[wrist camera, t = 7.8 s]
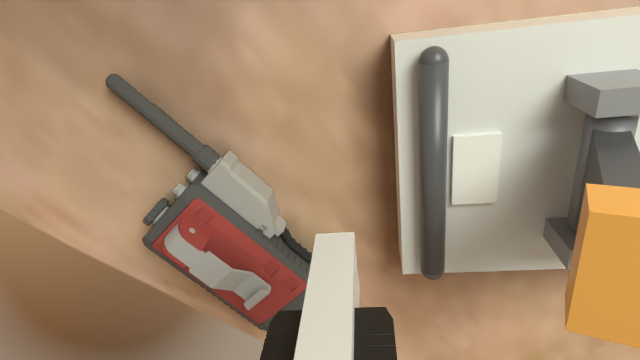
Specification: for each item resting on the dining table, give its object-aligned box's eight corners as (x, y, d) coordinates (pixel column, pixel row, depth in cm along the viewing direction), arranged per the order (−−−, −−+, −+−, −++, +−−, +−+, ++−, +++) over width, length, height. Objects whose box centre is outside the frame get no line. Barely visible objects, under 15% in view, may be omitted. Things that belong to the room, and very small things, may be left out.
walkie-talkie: (361, 257, 29) (129, 59, 24) (361, 300, 25) (84, 73, 20) (283, 317, 32) (64, 154, 27) (272, 364, 28) (15, 182, 23)
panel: (390, 34, 22) (400, 50, 16) (789, -11, 19) (956, -10, 14) (398, 246, 28) (407, 309, 22) (703, 232, 25) (796, 300, 20)
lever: (579, 107, 19) (592, 197, 12) (641, 108, 18) (696, 208, 11) (562, 212, 22) (563, 340, 15) (615, 219, 21) (645, 361, 14)
